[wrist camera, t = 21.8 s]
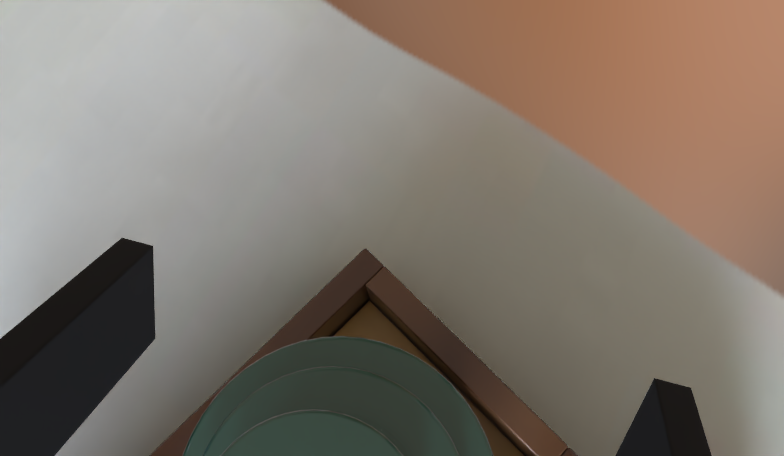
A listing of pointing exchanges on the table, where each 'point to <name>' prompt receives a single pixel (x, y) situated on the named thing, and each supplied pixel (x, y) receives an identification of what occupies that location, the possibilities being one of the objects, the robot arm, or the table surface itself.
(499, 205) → the table surface
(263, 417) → the green bottle
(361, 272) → the tray
